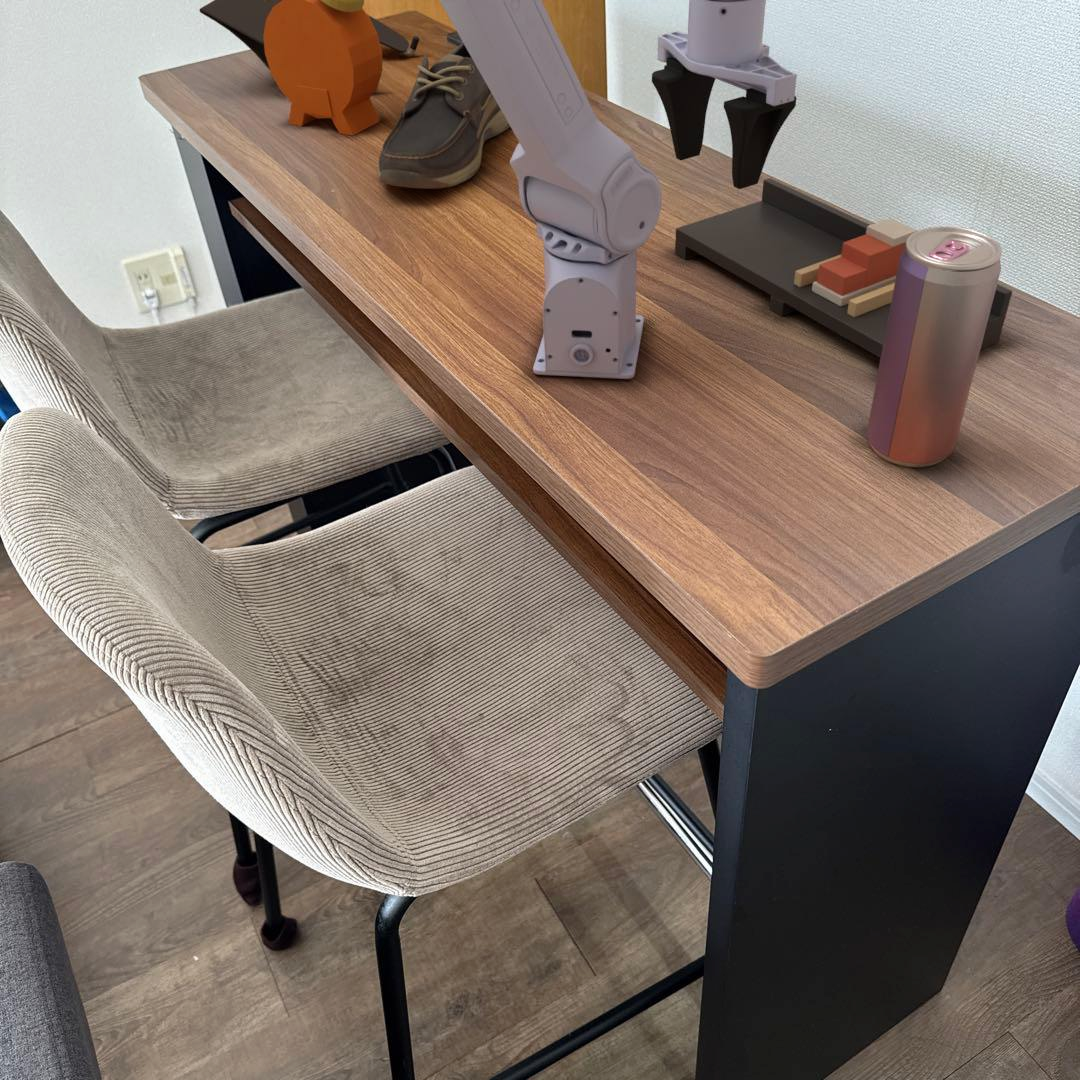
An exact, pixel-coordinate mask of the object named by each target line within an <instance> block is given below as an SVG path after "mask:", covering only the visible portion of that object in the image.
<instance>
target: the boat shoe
mask: <svg viewBox="0 0 1080 1080" xmlns="http://www.w3.org/2000/svg"><path fill="white" fill-rule="evenodd" d="M429 66H430V65H429V58H428V57H427V56H426V55H425V56H423V58H422V61H421V64H418V65H417V70H418V74H417V77H416V81H415V83H414V85H413V87H412V90H411V92H410V95H409V97H408V99H407V102H406V103H405V106H404V107H403V109H402V110H401V112H400V113H399V116H398V118H397V122H396V124H395V126H394V127H393V129H392V130H391V132H390V133H389V134H388V136H387V138H386V139H385V141H384V142H383V145H382V148H381V151H380V153H379V154H380V155H379V158H378V163H377V174H378V179H379V181H380V182H382V183H383V184H385V185H390V186H394V187H400V188H409V189H410V188H411V189H426V190H427V189H430V190H431V189H445V188H446V189H447V188H451V187H455V186H457V185H459V184H462V183H464V182H466V181H468V180H470V179H471V178H472V177H474V176H475V175H476V174H477V172H478V171H479V169H480V166H481V164H482V158H483V157H482V155H483V148H484V147H483V146H484V144H485V142H487V141H488V140H489V139H492V138H493V137H496V136H499V135H500V134H501V135H502V134H503V133H504V132H505V131H507V130H508V129H509V128H511V127H510V125H509V123H508V121H507V120H506V118H505V116H504V114H503V112H502V111H501V109H500V107H499V105H498V104H497V102H496V100H495V98H494V96H493V95H492V93H491V91H490V89H489V88H488V86H487V84H486V82H485V80H484V79H483V77H482V75H481V73H480V72H479V70H478V68H477V66H476V64H475V63H474V61H473V59H472V57H471V56H470V54H469V52H468V50H467V48H466V47H465V45H464V43H463V42H461V44H459V45H458V46H457V47H455V48H454V49H452V50H451V51H450V52H449V53H448V54H446V55H444V56H442V57H440V58H439V59H438V60H437V61H435V62H434V63H433V65H432V66H431V67H429Z"/></svg>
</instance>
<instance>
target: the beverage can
mask: <svg viewBox="0 0 1080 1080" xmlns="http://www.w3.org/2000/svg"><path fill="white" fill-rule="evenodd" d="M1002 253H1003V250H1002V246H1001V244H1000V243H999V242H998V241H997V240H996V239H995V238H993V237H992V236H990V235H988V234H987V233H984V232H982V231H978V230H974V229H972V228H967V227H960V226H944V225H943V226H931V227H927V228H923V229H919V230H917V232H915V233H913V234H911V235H910V236H909V237H908V239H907V241H906V244H905V249H904V250H903V252H902V254H901V256H900V259H899V264H898V269H897V275H896V280H895V285H894V290H893V296H892V301H891V306H890V312H889V317H888V322H887V327H886V333H885V338H884V343H883V349H882V354H881V358H880V359H879V366H878V370H877V376H876V381H875V386H874V390H873V396H872V402H871V408H870V413H869V419H868V422H867V427H866V439H867V440H868V443H869V445H870V447H871V448H872V450H873V451H874V452H875V453H876V454H877V455H878V456H879V457H880V458H882V459H883V460H885V461H887V462H889V463H892V464H895V465H898V466H901V467H908V468H926V467H930V466H934V465H938V464H939V463H941V462H942V461H944V460H945V459H946V458H948V457H949V456H950V455H951V454H952V453H953V452H954V450H955V448H956V445H957V441H958V439H959V438H958V437H959V435H960V434H959V433H960V430H961V426H962V422H963V418H964V416H965V415H964V414H965V410H966V406H967V402H968V400H969V394H970V391H971V387H972V383H973V379H974V375H975V371H976V368H977V364H978V361H979V356H980V352H981V350H982V349H981V345H982V341H983V337H984V333H985V329H986V326H987V322H988V318H989V314H990V310H991V306H992V302H993V299H994V295H995V291H996V287H997V284H998V283H999V279H1000V275H1001V271H1002V264H1001V257H1002ZM980 349H981V350H980Z"/></svg>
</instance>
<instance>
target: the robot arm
mask: <svg viewBox="0 0 1080 1080" xmlns="http://www.w3.org/2000/svg"><path fill="white" fill-rule="evenodd" d="M439 2H440V4H441V6H442V7H443V10H444V11H445V13H446V14H447V16H448V18H449V20H450V21H451V23H452V25H453V27H454V29H455V30H456V32H457V34H458V36H459V37H460V40H461V41H462V43H464V45H465V47H466V48H467V50H468V52H469V54H470V56H471V57H472V59H473V61H474V63H475V64H476V66H477V68H478V70H479V72H480V73H481V75H482V77H483V79H484V80H485V82H486V84H487V86H488V88H489V89H490V91H491V93H492V95H493V96H494V98H495V100H496V102H497V104H498V105H499V107H500V109H501V111H502V112H503V114H504V116H505V118H506V120H507V121H508V123H509V125H510V127H509V128H511V130H512V132H513V134H514V136H515V138H516V139H517V141H518V143H517V145H516V147H515V149H514V151H513V154H512V156H511V157H510V160H509V165H510V167H511V169H512V170H513V173H514V174H515V176H516V179H517V183H518V193H519V200H520V205H521V207H522V210H523V212H524V213H525V214H526V216H527V217H528V218H529V219H531V220H532V221H533V222H535V224H536V237H538V238H540V239H541V241H542V244H543V245H542V246H543V248H542V249H543V269H544V270H543V271H544V288H545V289H544V292H545V293H544V297H543V301H542V320H543V321H542V325H543V335H542V338H541V341H540V344H539V347H538V351H537V353H536V358H535V361H534V363H533V367H532V372H533V373H534V374H535V375H539V376H540V375H542V376H556V377H557V376H558V377H560V376H561V377H576V378H577V377H578V378H579V377H580V378H598V379H600V378H601V379H618V380H630V379H633V378H634V377H635V374H636V368H637V364H638V363H637V362H638V357H639V352H640V348H641V347H640V346H641V342H642V335H643V329H644V326H645V325H644V324H645V323H644V322H645V317H644V316H643V315H640V314H637V275H638V273H637V271H638V269H637V267H638V249H640V248H641V247H644V245H645V242H646V241H647V240H648V239H649V238H650V236H651V235H652V234H653V232H654V230H655V228H656V227H657V225H658V221H659V219H660V215H661V209H662V196H663V194H662V186H661V184H660V183H661V182H660V180H659V178H658V176H657V175H656V173H655V172H654V171H653V170H652V169H650V168H648V167H647V166H644V165H642V164H641V163H640V161H639V160H638V158H637V156H636V154H635V152H634V150H633V148H632V147H631V145H629V144H628V143H627V142H625V140H623V139H622V138H621V137H619V136H618V135H617V134H616V133H615V132H613V131H612V130H611V129H609V128H608V127H607V126H606V125H605V124H604V123H603V122H601V121H600V120H599V119H598V118H597V116H596V114H595V112H594V109H593V108H592V105H591V103H590V100H589V99H588V97H587V95H586V93H585V91H584V88H583V86H582V83H581V82H580V80H579V77H578V75H577V73H576V72H575V69H574V66H573V65H572V62H571V61H570V58H569V56H568V54H567V52H566V49H565V48H564V46H563V43H562V42H561V39H560V37H559V35H558V32H557V30H556V28H555V26H554V24H553V22H552V20H551V18H550V16H549V14H548V11H547V9H546V8H545V4H544V3H543V1H542V0H439ZM766 2H767V0H688V16H687V17H688V18H687V19H688V20H687V33H685V32H681V31H678V30H675V31H672V32H668V33H663V34H659V35H658V36H657V61H659V62H662V63H666V64H665V65H664V66H663V69H659V70H655V71H653V72H652V73H651V83H652V85H653V86H654V88H655V90H656V92H657V94H658V96H659V98H660V100H661V103H662V105H663V108H664V112H665V115H666V118H667V121H668V122H667V123H668V125H669V130H670V135H671V140H672V145H673V150H674V155H675V158H676V159H677V160H678V161H685V160H687V159H692V158H694V157H698V156H700V155H701V151H702V147H703V142H704V134H705V128H706V127H705V126H706V118H707V117H706V116H707V110H708V106H709V101H710V97H711V94H712V91H713V88H714V84H715V82H716V80H718V81H721V82H723V83H725V84H728V85H731V86H733V87H736V88H738V89H741V90H742V91H743V90H744V91H745V96H744V95H743V96H739V97H736V98H732V99H728V100H725V101H724V102H723V109H724V111H725V115H726V117H727V122H728V126H729V130H730V131H729V132H730V138H731V148H732V149H731V150H732V151H731V152H732V153H731V154H732V155H731V177H732V178H731V179H732V184H733V185H732V186H733V188H736V189H737V190H742V189H745V188H748V187H751V186H754V185H758V184H759V180H760V177H761V176H762V172H763V169H764V168H765V167H764V166H765V163H766V161H767V158H768V156H769V153H770V150H771V147H772V146H773V143H774V141H775V139H776V137H777V135H778V134H779V132H780V130H781V129H782V126H783V125H784V123H785V122H786V121H787V119H788V117H789V116H790V114H791V113H792V112H793V111H794V109H796V108H795V107H796V105H797V96H796V86H797V77H798V75H797V73H794V72H792V71H790V70H788V69H786V68H785V67H783V66H782V65H780V64H779V63H778V62H777V61H776V60H774V59H773V58H772V57H771V56H769V55H770V46H769V45H768V44H764V43H763V37H764V28H765V27H764V25H765V14H766Z"/></svg>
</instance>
